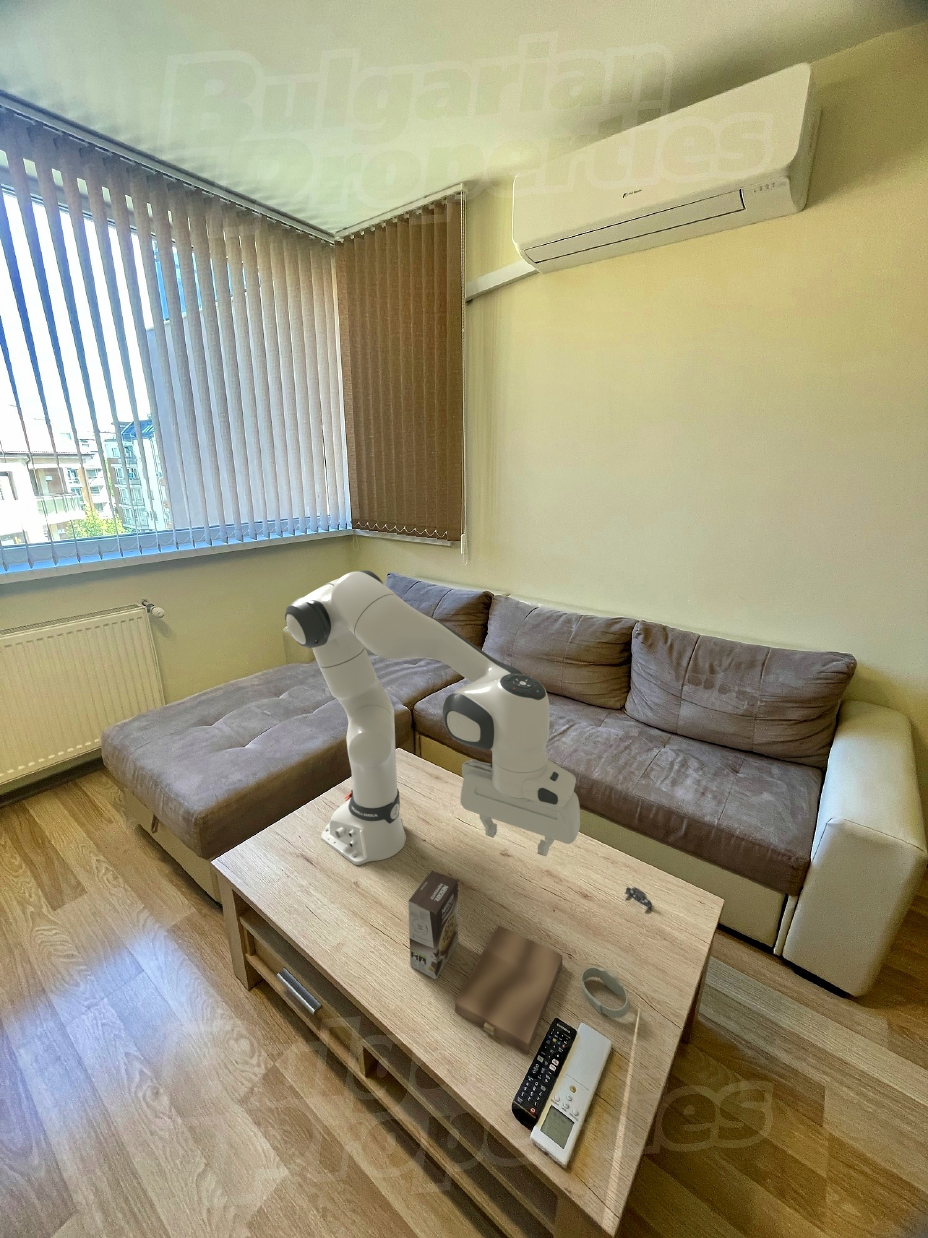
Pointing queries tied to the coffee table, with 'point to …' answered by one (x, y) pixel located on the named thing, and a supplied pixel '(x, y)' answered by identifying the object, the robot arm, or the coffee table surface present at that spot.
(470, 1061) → the coffee table surface
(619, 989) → the grey oval ring piece
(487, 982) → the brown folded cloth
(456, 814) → the coffee table surface
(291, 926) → the coffee table surface
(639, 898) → the dark grey irregular piece
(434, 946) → the coffee box
